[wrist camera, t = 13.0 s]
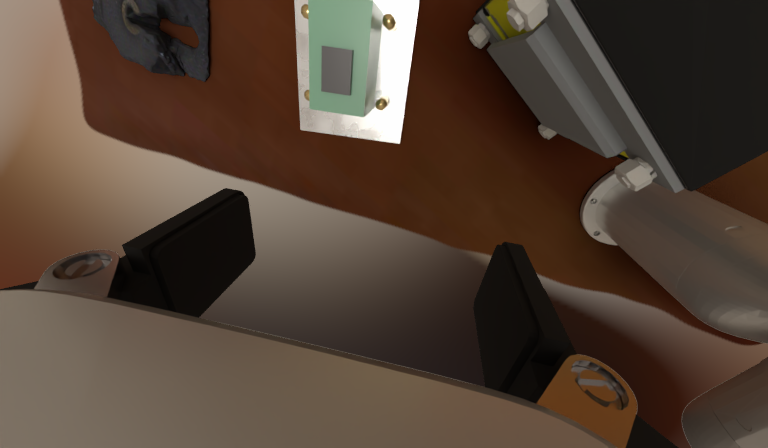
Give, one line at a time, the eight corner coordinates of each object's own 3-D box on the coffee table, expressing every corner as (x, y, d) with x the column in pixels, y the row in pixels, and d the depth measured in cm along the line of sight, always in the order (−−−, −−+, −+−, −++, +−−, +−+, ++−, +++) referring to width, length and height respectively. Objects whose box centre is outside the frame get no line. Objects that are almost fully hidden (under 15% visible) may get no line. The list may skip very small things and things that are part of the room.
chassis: (423, -29, 29) (423, -43, 25) (400, 142, 38) (397, 150, 35) (296, -42, 30) (277, -58, 26) (303, 128, 39) (289, 135, 35)
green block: (383, 13, 31) (371, -2, 24) (373, 108, 36) (362, 118, 29) (330, 5, 31) (305, -11, 24) (328, 101, 36) (307, 109, 29)
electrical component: (459, 29, 31) (501, -16, 14) (544, -63, 27) (754, -291, 10) (544, 142, 36) (653, 211, 19) (628, 79, 32) (870, 96, 14)
